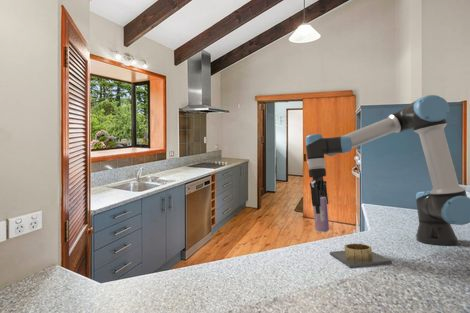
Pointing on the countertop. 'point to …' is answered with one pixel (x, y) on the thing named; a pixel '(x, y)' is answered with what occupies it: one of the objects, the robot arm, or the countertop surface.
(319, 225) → the beverage can
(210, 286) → the countertop surface
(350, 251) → the pipe socket
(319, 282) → the countertop surface
